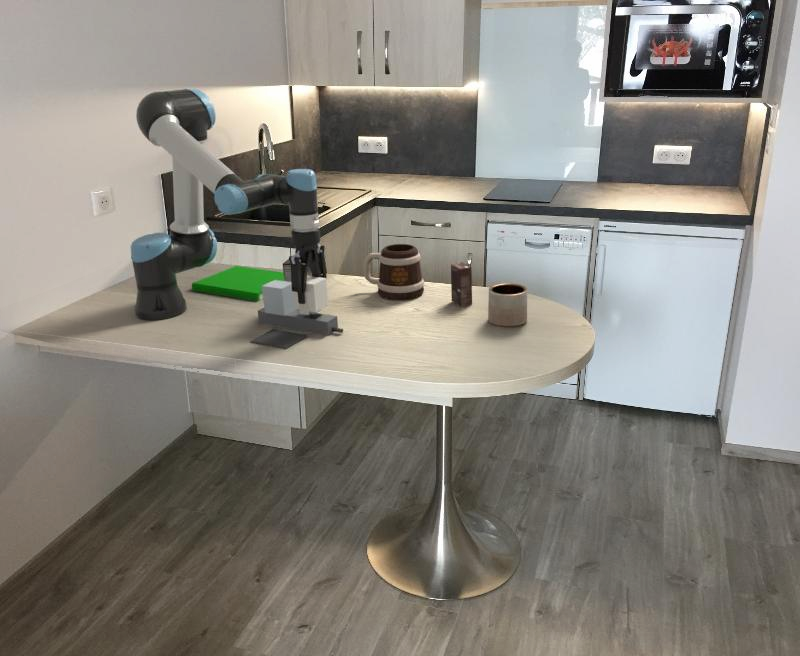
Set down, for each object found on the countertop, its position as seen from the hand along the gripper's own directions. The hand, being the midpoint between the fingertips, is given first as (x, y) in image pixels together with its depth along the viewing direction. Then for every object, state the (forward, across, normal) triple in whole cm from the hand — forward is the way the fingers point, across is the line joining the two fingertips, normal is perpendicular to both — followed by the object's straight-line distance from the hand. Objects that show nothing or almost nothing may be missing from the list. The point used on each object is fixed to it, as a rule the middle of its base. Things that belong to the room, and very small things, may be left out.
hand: (311, 309), depth 201 cm
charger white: (0, 0, 0) cm, 0 cm away
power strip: (+6, 0, +4) cm, 7 cm away
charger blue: (+3, 0, +11) cm, 11 cm away
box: (+6, +36, -30) cm, 47 cm away
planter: (+6, +27, -48) cm, 55 cm away
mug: (+6, +37, -6) cm, 38 cm away
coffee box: (+6, +12, +12) cm, 18 cm away
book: (+7, +25, +44) cm, 51 cm away
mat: (+6, -10, +4) cm, 12 cm away
